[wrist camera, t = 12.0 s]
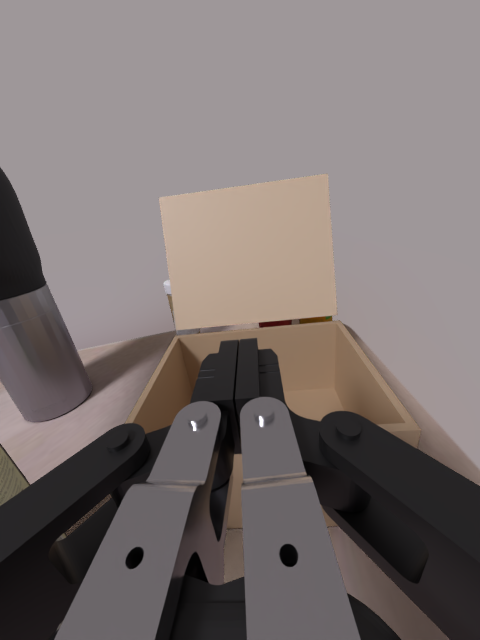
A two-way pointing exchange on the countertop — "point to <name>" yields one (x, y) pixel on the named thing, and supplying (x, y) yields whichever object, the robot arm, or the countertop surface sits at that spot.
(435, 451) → the countertop surface
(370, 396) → the carton
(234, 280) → the carton flap
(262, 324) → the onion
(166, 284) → the sprinkles bottle
